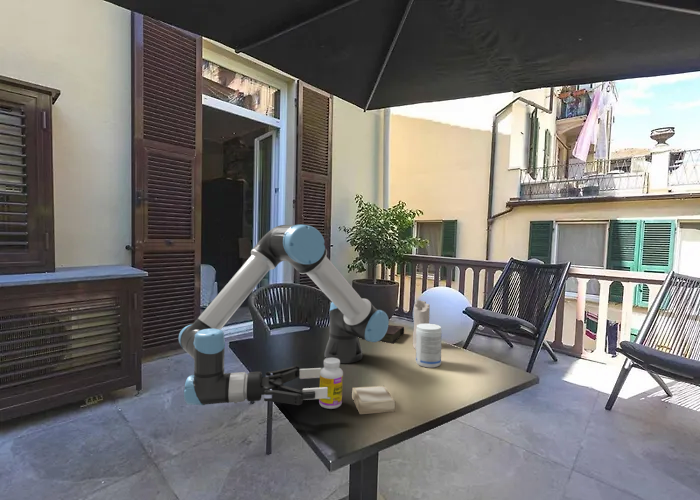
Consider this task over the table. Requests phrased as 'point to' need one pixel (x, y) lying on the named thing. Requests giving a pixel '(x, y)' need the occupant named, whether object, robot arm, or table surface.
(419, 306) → the candle
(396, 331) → the diary
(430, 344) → the supplement tub
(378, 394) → the birch plinth
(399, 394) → the table surface
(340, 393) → the supplement bottle
